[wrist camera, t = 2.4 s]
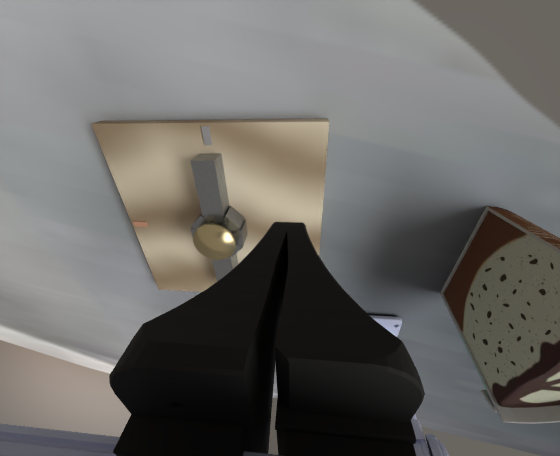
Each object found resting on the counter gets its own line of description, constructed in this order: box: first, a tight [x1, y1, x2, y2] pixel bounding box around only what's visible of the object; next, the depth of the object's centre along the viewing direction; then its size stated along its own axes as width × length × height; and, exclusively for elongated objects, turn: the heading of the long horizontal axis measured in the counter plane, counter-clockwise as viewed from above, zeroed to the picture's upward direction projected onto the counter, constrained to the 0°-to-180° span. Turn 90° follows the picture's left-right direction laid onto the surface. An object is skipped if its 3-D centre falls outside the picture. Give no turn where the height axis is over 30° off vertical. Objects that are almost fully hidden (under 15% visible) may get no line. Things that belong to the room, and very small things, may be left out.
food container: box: [440, 206, 560, 423], centre depth 17 cm, size 12×6×10 cm, turn 179°
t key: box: [190, 153, 248, 281], centre depth 20 cm, size 12×4×2 cm, turn 1°
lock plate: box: [92, 119, 329, 292], centre depth 20 cm, size 16×16×3 cm
